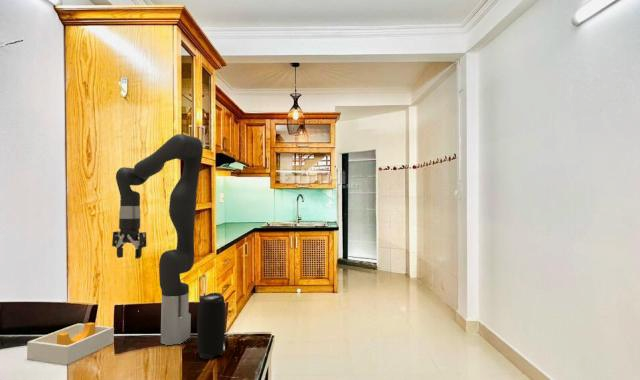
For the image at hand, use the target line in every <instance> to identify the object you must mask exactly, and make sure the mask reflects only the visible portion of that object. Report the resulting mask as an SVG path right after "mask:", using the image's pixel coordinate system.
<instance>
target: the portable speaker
mask: <svg viewBox="0 0 640 380" xmlns="http://www.w3.org/2000/svg"><path fill="white" fill-rule="evenodd" d="M198 301H199V304H198V310H197V317H196V318H197V319H196V320H197V322H196V327H197V328H196V330H197V332H196V336H197V337H196V339H197V354H198V355H199V359H201V358H203V359H202V360H204V359H211V360H212V359H213V358H214V357H216V356H220V355H221V354H222V353H223V352H224V348H225V347H224V345H225V340H226V339H225V338H226V337H225V336H226V332H225V331H226V307H225V304H226V303H225V297H224V296H223V295H222V294H221V293H220V292H210V293H208V294H205V295H200V296H199V300H198ZM223 354H224V353H223ZM221 356H222V355H221Z"/></svg>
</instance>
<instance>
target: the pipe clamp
mask: <svg viewBox="0 0 640 380" xmlns="http://www.w3.org/2000/svg"><path fill="white" fill-rule="evenodd" d="M84 324H85V326H84V330H83V332H82V333H79V334H77V335H76V336H75V337H73V338H72V339H70V337H69V333H60V334H57V344H60V345H67V346H68V345H70V344H73V343H75V342H77V341H80V340H82V339H85V338H87V337H89V336H92V335H94V334H95V325H96V322H87V323H84Z"/></svg>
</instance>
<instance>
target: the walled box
mask: <svg viewBox="0 0 640 380" xmlns="http://www.w3.org/2000/svg"><path fill="white" fill-rule="evenodd" d="M85 324H86V323H76V324H73V325H70V326H67V327H64V328H62V329H59V330H56V331H54V332H51V333H48V334H45V335H42V336H40V337H38V338H35V339H31V340H29V341H27V345H26V348H27V349H26V352H27V353H26V360H31V361H37V362H42V363H43V362H44V363H50V364H56V365H63V366H64V365H65V366H68V365H70V364H72V363H75V362H77V361H79V360H81V359H82V358H85V357H87V356H89V355H91V354H93V353H96V352H97V351H99V350H102V349H104V348H106V347H108V346H110V345H113V344H114V341H115V340H114V338H115V337H114V335H115V332H114V331H115V327H113V326H104V325H96V324H95V334H94V335H92V336H89V337H87V338H85V339H82V340H80V341H77V342H75V343H73V344H70V345H68V346H67V345H60V344H57V334H60V333H69V337H70V339H72V338H73V337H75V336H76V335H77V334H79V333H82V332H83V330H84V326H85Z"/></svg>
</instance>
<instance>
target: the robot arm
mask: <svg viewBox="0 0 640 380" xmlns="http://www.w3.org/2000/svg"><path fill="white" fill-rule="evenodd" d="M203 147H204V146H203V142H202V141H201V139H200V138H198V137H195V136H191V135H185V134H181V133H180V134H179V133H178V134H175V135H173V136H172V137H171V138H169V139H168V140H167V141H165V143H163V144H162V145H161V146H160V147H158V149H157V150H156V151H154V152H153V153H152V154H150V155H149V156H147V157H145V158H143V159H141V160H140V161H138V162H137V163H136V164H134V167H126V166H125V167H124V166H123V167H120V168H118V170H117V171H116V173H115V180H116V181H115V182H116V185H117V188H118V192H119V196H120V200H119V201H120V206H119V214H118V215H119V217H118V229H119V231H117V230H115V231H113V232H112V242H111V246H112V247H113V248H116V257H117V258H118V259H120V258H123V257H124V248H123V247H124V246H125V244H127V243H129V244H132V245H133V246H134V248H135V256H134V257H135V259H141V258H142V255H143V253H142V252H143V251H142V250H143V248H146V247H147V232H145V231H144V232H143V231H142V232H140V229H141V194H140V193H139V192H138V191H135V190H133V189H132V186H135V187H137V186H142V185H143V184H145V183H146V182H147V181H148V180H149V178H150V177H152V176H155V175H156V174H158V173H160V172H161V171H162V170H163V168H164V167H165V165H166V163H167V162H169V161H172V160H176V159H177V160H180V161H184V165H183V171H182V173H181V176H180V178H179V180H178V181H177V183H176V185H174V188H173V189H172V191H171V194H170V195H169V196H170V197H169V205H168V206H169V207H168V215H169V218H170V221H171V222H172V224H173V226H174V230H175V232H176V237H177V239H176V240H177V241H176V248H175V249H170V250H166V251H164V252H162V254H161V255H160V258H159V263H158V268H159V269H158V271H159V273H158V275H159V276H158V277H159V287H160V290H161V306H160V307H161V309H160V310H161V312H160V313H161V314H160V316H161V317H160V344H161V343H162V344H165V345H164V346H166V345H173V344H181V343H183V342H184V341H186V340H187V339H188V338H190V339H191V329H192V328H191V321H192V320H191V319H192V318H191V317H192V313H190V312H189V307H190V306H189V301H190V299H189V298H190V296H189V295H190V294H189V293H190V286H189V284H187V283H186V282H182V281H181V274H186V273H189V272H190V271H191V270H192V268H193V266H194V263H195V219H196V210H197V197H198V196H197V195H198V186H199V177H200V170H201V165H202V159H203V154H204V149H203ZM186 342H187V341H186ZM162 344H161V345H162ZM183 344H184V343H183ZM181 345H182V344H181ZM173 346H174V345H173Z"/></svg>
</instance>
